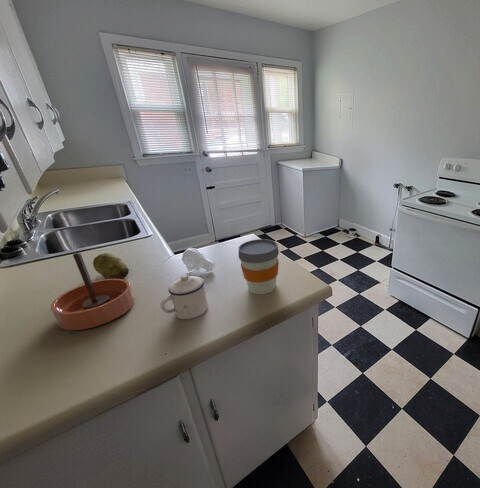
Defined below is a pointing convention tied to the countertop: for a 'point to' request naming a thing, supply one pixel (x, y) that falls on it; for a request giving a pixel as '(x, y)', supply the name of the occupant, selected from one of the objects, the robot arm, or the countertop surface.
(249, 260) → the reusable coffee cup
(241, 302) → the countertop surface
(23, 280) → the countertop surface
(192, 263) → the crumpled white tissue
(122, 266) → the potato
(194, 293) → the teacup with lid
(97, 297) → the wooden tamper
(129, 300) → the bowl
